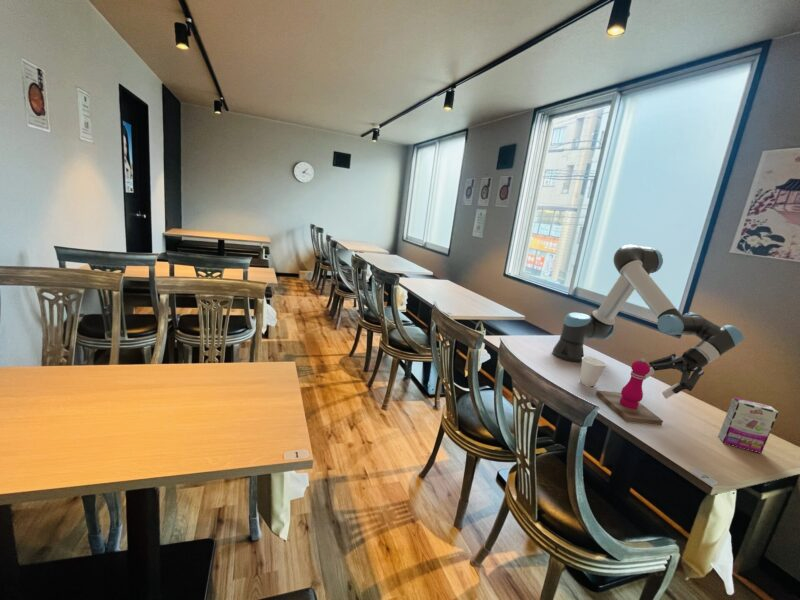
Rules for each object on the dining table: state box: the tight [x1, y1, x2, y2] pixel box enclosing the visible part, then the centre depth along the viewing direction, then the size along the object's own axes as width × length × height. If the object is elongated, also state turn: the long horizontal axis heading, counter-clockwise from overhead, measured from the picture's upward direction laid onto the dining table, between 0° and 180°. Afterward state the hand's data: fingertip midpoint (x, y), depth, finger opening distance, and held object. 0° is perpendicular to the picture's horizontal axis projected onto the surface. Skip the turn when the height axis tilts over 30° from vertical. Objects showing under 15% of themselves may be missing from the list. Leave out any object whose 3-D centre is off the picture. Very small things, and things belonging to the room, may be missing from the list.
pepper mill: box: [620, 357, 650, 409], centre depth 143 cm, size 7×7×20 cm
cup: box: [579, 356, 607, 387], centre depth 163 cm, size 10×10×11 cm
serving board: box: [595, 389, 664, 426], centre depth 145 cm, size 20×14×2 cm
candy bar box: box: [717, 396, 780, 454], centre depth 129 cm, size 11×5×16 cm, turn 68°
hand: (651, 386), depth 143 cm, fingers open, 13 cm apart
